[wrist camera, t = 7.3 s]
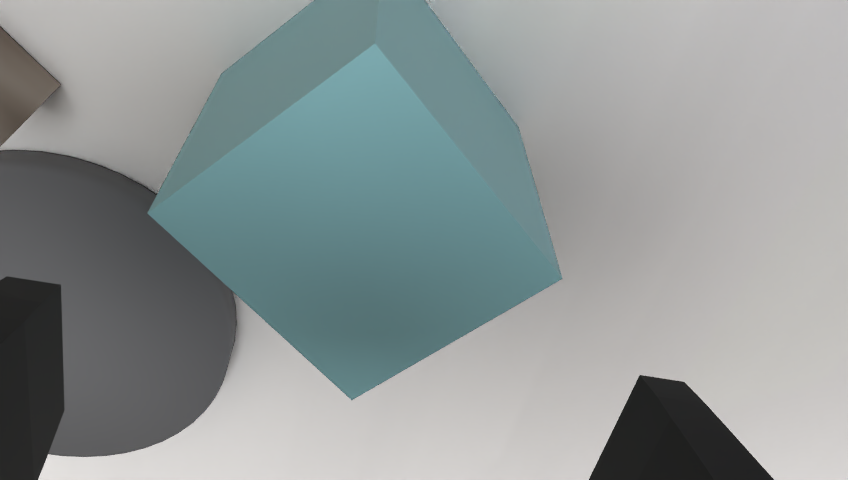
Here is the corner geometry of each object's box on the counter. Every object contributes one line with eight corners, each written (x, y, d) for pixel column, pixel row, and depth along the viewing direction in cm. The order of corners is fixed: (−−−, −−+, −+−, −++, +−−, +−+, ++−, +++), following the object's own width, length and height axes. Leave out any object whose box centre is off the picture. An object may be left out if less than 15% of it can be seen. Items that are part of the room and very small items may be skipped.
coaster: (307, 331, 21) (302, 356, 20) (80, 473, 24) (69, 499, 23) (33, 74, 17) (13, 92, 16) (-201, 280, 20) (-228, 304, 19)
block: (518, 126, 18) (562, 278, 13) (365, 227, 20) (351, 399, 14) (383, -56, 16) (375, 43, 11) (222, 73, 17) (147, 212, 12)
